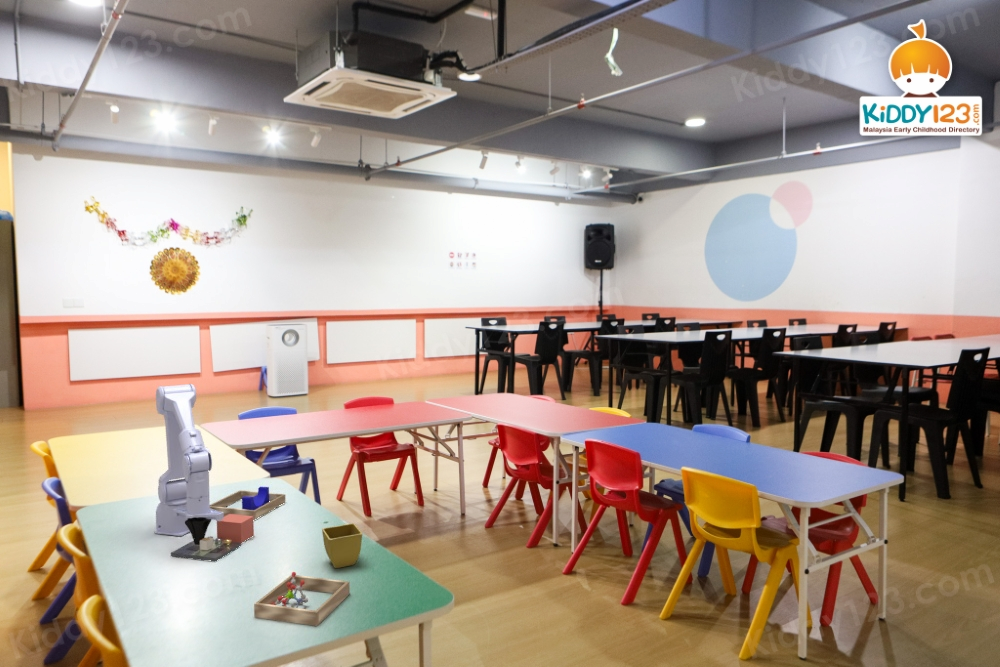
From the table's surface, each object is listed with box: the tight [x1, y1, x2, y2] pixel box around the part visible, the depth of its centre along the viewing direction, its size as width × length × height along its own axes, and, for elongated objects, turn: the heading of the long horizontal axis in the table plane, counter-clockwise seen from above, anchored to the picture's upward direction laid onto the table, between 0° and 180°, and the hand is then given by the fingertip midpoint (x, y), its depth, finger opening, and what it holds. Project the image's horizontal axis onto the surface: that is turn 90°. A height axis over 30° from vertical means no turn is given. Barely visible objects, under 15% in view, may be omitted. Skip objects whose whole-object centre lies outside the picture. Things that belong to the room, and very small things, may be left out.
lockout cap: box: [216, 514, 255, 544], centre depth 191 cm, size 8×6×6 cm
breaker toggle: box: [200, 536, 214, 550], centre depth 180 cm, size 2×2×3 cm
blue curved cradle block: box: [241, 486, 270, 510], centre depth 216 cm, size 12×4×6 cm, turn 172°
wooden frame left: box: [210, 490, 286, 521], centre depth 216 cm, size 17×17×3 cm
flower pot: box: [321, 523, 363, 569], centre depth 174 cm, size 9×9×9 cm
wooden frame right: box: [253, 574, 351, 627], centre depth 151 cm, size 15×15×3 cm
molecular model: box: [270, 571, 309, 608], centre depth 150 cm, size 7×8×8 cm
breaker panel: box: [170, 536, 242, 562], centre depth 182 cm, size 14×11×2 cm
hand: (199, 543), depth 181 cm, fingers closed
